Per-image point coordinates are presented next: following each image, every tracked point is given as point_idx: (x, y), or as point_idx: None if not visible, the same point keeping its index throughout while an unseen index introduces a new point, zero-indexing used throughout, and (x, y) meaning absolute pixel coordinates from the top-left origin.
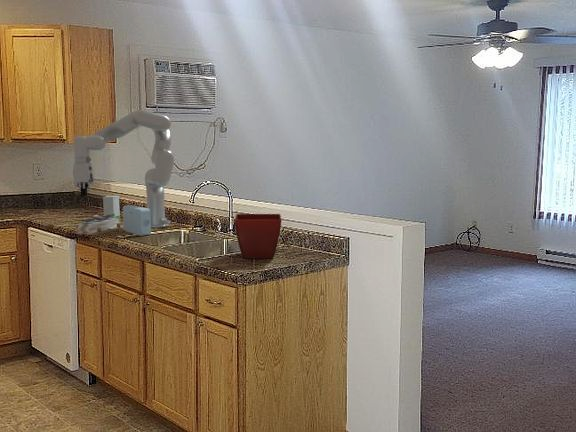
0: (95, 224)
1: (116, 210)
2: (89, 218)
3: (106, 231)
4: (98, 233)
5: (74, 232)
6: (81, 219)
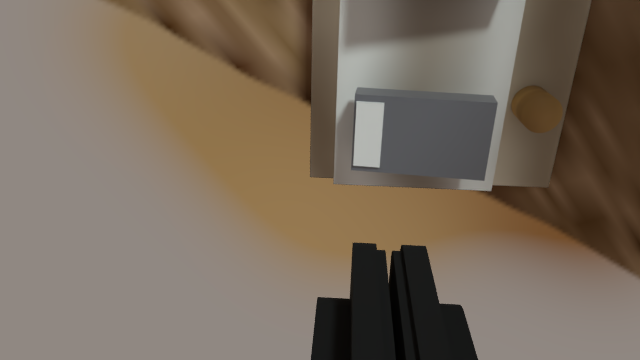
0: (501, 114)
1: None
2: (417, 110)
3: (578, 43)
4: (552, 154)
5: (313, 174)
6: (351, 169)
